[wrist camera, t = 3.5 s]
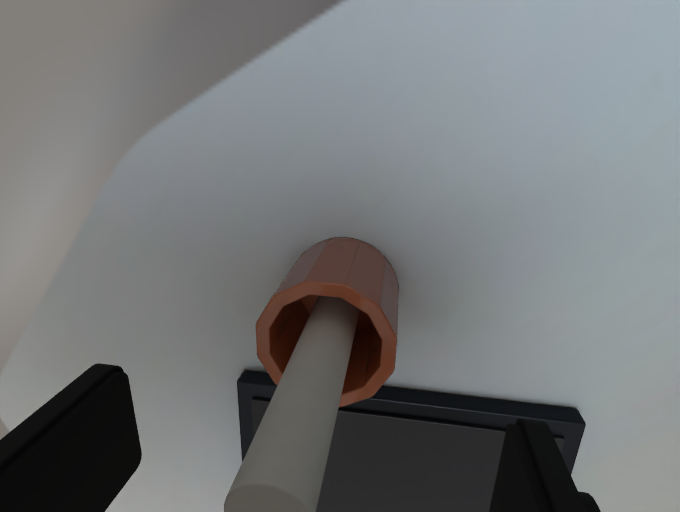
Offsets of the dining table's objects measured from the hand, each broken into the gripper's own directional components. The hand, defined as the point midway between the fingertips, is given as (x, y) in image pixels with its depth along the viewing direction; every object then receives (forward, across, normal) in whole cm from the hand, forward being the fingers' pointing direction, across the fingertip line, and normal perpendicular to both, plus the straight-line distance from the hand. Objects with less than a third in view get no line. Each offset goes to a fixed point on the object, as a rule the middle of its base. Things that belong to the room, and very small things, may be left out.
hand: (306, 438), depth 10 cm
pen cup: (+9, 0, 0) cm, 9 cm away
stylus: (+9, 0, 0) cm, 9 cm away
